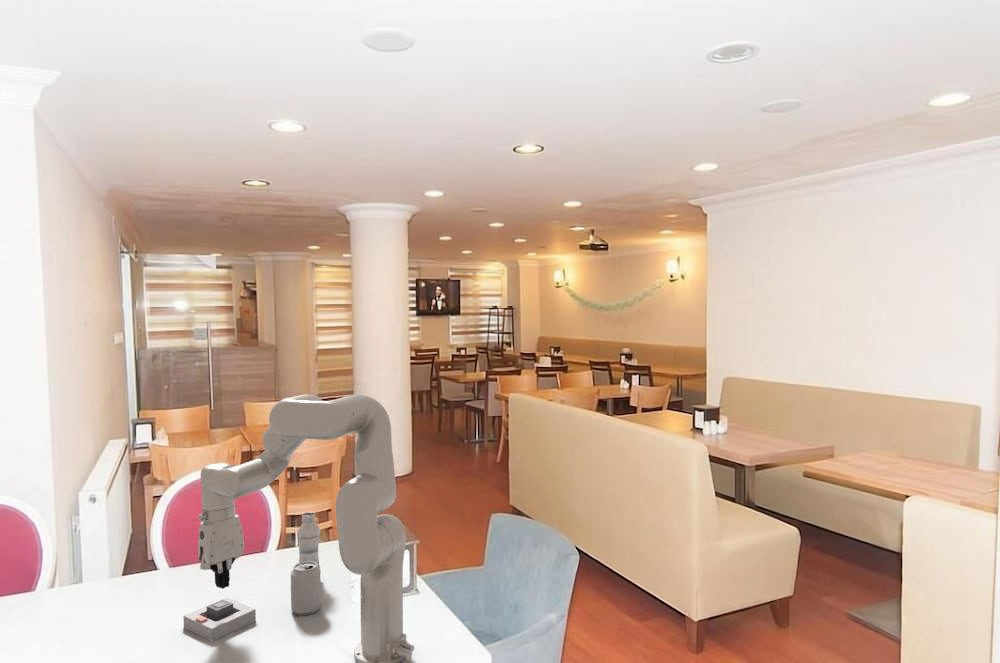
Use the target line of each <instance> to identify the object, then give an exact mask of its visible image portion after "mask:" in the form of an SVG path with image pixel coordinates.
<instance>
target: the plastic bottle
mask: <svg viewBox="0 0 1000 663" xmlns="http://www.w3.org/2000/svg"><path fill="white" fill-rule="evenodd" d="M296 535H297V542H298V550H299V551H298V556H299V558H298V563H300V562H305V561H313V562H316V563H317V564H318V567H319V568H320V569H321V566H320V558H319V544H320V538H321V537H320V536H321V529H320V527H319V525H318V524H317V523H316V514H315V512H312V511H311V512H310V511H308V512H304V513H302V514H301V524H300V526H299V527H298V530H297V533H296ZM321 572H322V571H321V570H320V574H321Z"/></svg>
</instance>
